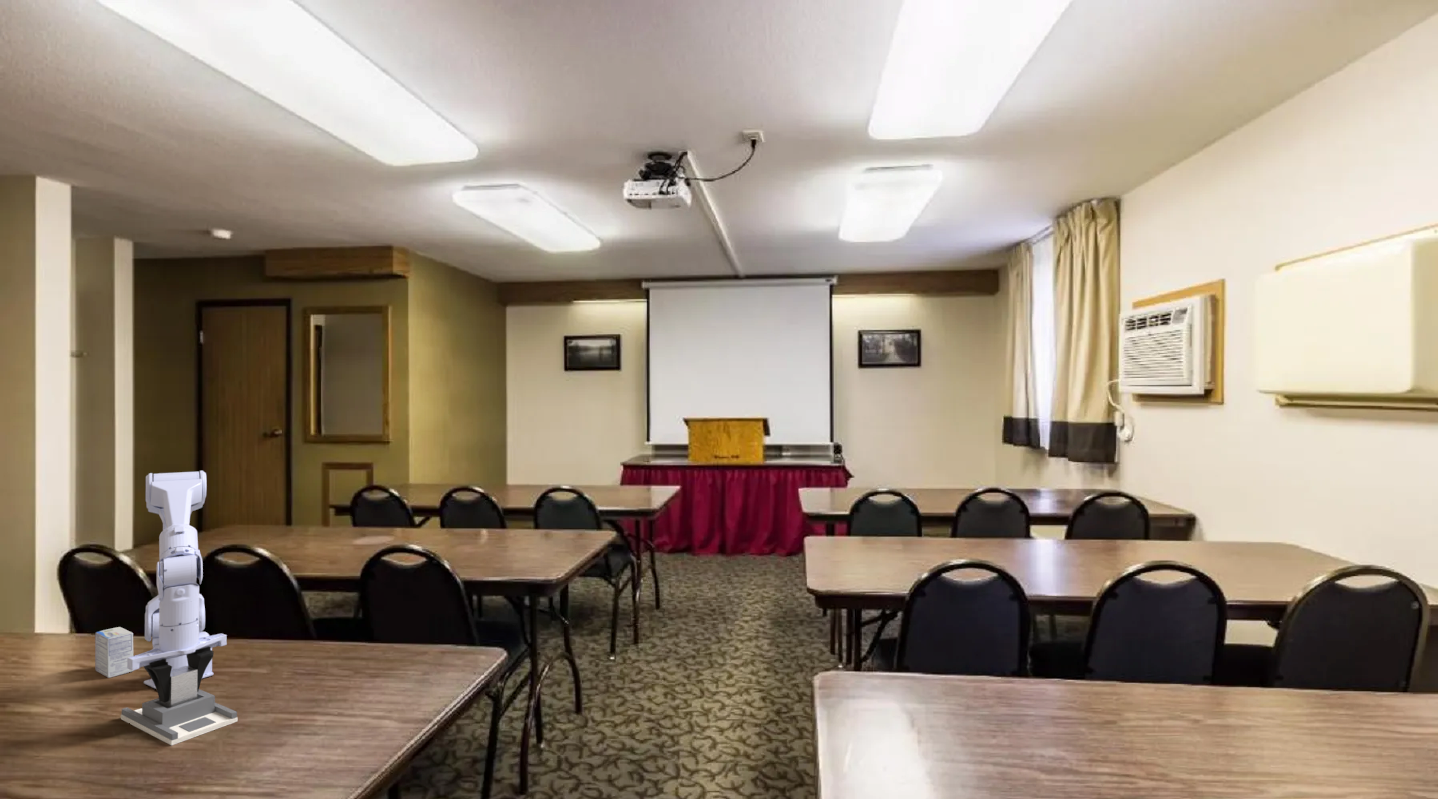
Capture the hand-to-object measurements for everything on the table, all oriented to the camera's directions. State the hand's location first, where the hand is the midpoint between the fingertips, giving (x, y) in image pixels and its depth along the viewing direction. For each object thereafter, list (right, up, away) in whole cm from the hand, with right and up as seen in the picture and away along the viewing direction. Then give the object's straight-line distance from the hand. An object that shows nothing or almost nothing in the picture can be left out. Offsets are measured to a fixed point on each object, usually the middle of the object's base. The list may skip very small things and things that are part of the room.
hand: (179, 696), depth 123 cm
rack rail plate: (0, -4, 0) cm, 4 cm away
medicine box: (-33, -5, +23) cm, 40 cm away
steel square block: (0, -2, 0) cm, 2 cm away
